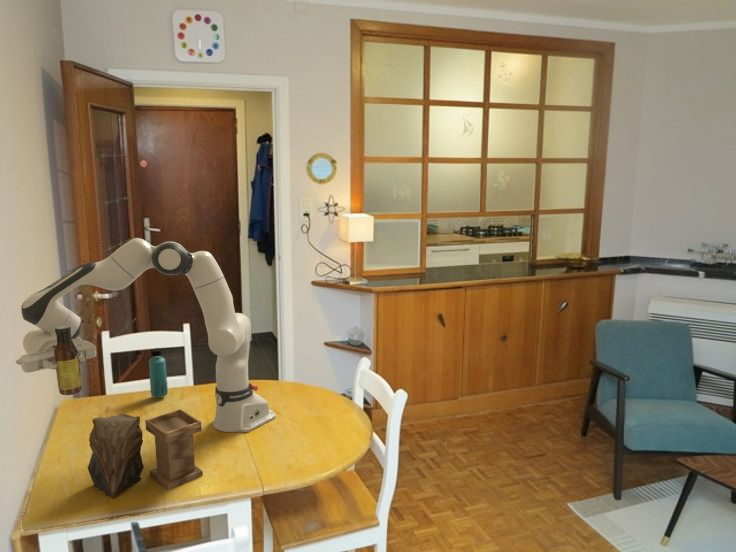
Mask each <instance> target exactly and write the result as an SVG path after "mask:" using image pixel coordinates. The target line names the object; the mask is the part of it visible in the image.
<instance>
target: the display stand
mask: <svg viewBox="0 0 736 552" xmlns="http://www.w3.org/2000/svg"><path fill="white" fill-rule="evenodd" d="M144 422H145V430H146V432H149V433H150V434H151V435H153V436H154V445H155V447H154V448H155V461H156V463H155V464H156V468H153V469H151V470H149V476H150V477H151V478H152V479H154V480H155V481H156V482H157V483H159V484H160V485H161V486H162V487H163V488H164V489H166V490H167V491H169V490H172V489H174V488H177V487H178V486H180V485H183V484H186V483H188V482H191V481H193V480H195V479H198V478H200V477H202V476H204V474H203V473H204V472H203V470H202V469H200V468H199V467H198V466H196V465H195V463H196V462H195V445H194V435H195V434H198V433H200V432H202V421H201V420H199V419H197V418H196V417H194V416H193V415H191V414H189V413H187V412H186V411H184V410H182V409H176V410H173V411H170V412H167V413H164V414H161V415H157V416H155V417H150V418H148V419H145V421H144Z"/></svg>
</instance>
